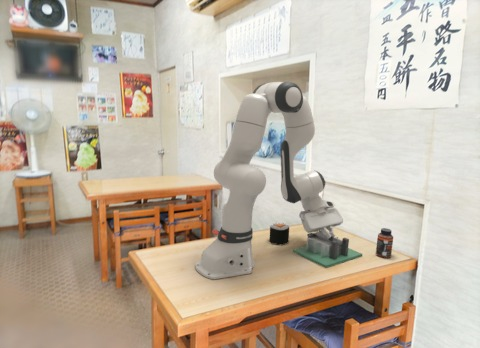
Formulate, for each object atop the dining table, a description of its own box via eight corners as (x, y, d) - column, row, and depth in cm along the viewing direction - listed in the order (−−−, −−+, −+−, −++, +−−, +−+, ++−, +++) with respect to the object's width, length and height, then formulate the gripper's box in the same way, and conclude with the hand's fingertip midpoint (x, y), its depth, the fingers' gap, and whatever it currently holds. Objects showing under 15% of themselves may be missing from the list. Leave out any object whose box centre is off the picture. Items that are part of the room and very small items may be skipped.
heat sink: (325, 259, 134) (326, 244, 133) (302, 248, 144) (303, 234, 143) (348, 252, 142) (349, 237, 141) (324, 242, 152) (326, 228, 151)
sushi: (291, 241, 155) (292, 224, 154) (281, 246, 149) (282, 228, 147) (276, 236, 160) (277, 220, 159) (266, 241, 154) (266, 224, 153)
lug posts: (334, 259, 134) (335, 242, 133) (330, 257, 136) (331, 241, 134) (347, 255, 139) (349, 239, 137) (343, 253, 140) (345, 237, 139)
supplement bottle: (388, 259, 138) (391, 233, 136) (373, 255, 142) (376, 229, 140) (393, 255, 143) (396, 229, 141) (378, 251, 147) (381, 226, 145)
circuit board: (325, 268, 129) (325, 265, 129) (292, 251, 143) (293, 249, 143) (362, 256, 141) (362, 253, 141) (328, 242, 156) (328, 239, 155)
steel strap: (336, 245, 135) (336, 243, 135) (312, 235, 146) (312, 233, 146) (343, 244, 137) (343, 241, 137) (319, 233, 148) (319, 231, 148)
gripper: (301, 208, 138) (318, 238, 132) (335, 201, 150) (352, 229, 143) (293, 216, 143) (309, 245, 136) (327, 209, 154) (343, 236, 148)
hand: (331, 237), depth 140 cm, fingers closed, pressing on steel strap
